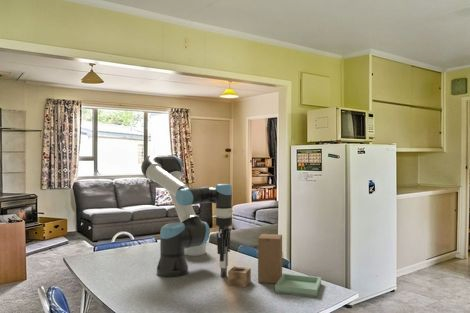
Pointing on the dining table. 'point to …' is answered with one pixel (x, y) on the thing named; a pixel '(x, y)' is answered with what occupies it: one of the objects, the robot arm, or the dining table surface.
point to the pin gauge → (224, 270)
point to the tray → (298, 285)
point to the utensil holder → (195, 250)
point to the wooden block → (269, 258)
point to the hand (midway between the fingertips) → (223, 266)
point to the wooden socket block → (239, 276)
